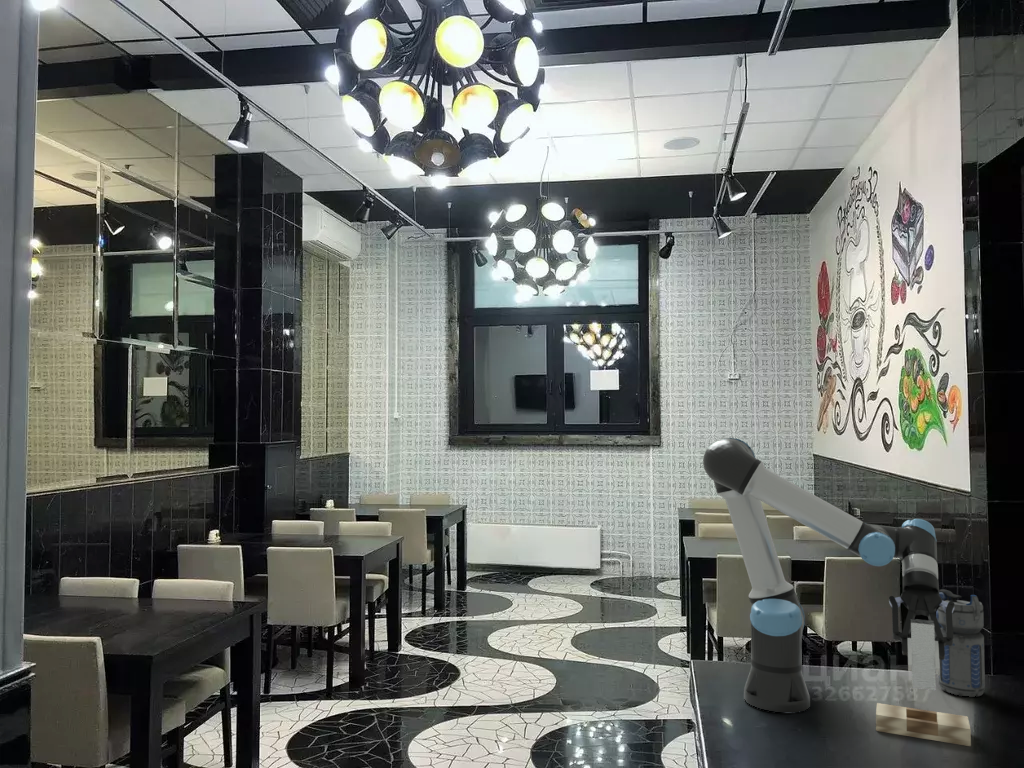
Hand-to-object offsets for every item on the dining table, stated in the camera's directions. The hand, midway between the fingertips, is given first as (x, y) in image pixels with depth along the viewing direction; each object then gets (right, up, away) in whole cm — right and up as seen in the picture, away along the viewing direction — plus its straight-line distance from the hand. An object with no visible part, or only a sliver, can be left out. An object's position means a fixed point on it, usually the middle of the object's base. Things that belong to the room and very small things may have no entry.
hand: (923, 669), depth 169 cm
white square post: (+2, -5, +3) cm, 6 cm away
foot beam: (+1, -15, +3) cm, 15 cm away
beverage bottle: (+24, -16, +29) cm, 41 cm away
